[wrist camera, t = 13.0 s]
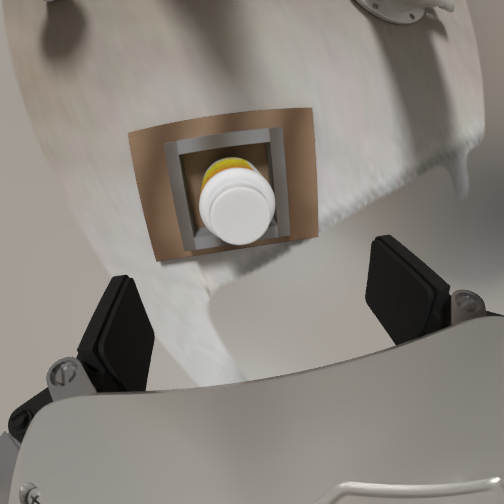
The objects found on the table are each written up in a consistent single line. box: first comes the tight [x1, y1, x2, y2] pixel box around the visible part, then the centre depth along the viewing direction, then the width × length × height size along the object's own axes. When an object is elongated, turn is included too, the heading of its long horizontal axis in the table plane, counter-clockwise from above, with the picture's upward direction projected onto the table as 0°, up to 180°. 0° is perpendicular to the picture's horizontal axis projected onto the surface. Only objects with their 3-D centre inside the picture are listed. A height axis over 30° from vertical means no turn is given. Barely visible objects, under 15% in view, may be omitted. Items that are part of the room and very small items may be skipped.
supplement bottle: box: [199, 156, 275, 245], centre depth 22 cm, size 6×6×10 cm
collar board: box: [128, 108, 318, 262], centre depth 26 cm, size 18×14×4 cm
